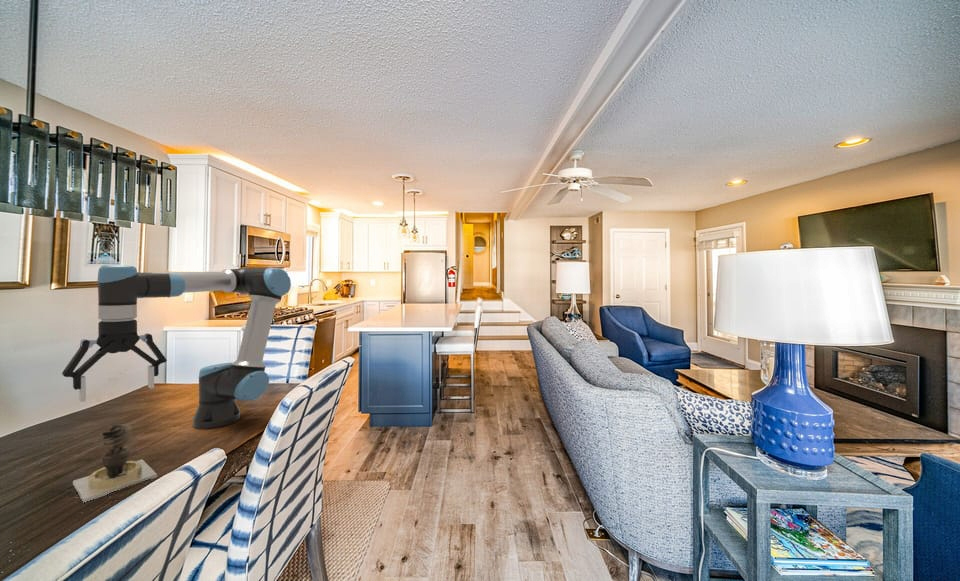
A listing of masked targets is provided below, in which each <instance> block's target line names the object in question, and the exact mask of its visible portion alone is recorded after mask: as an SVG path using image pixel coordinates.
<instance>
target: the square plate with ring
mask: <svg viewBox="0 0 960 581" xmlns="http://www.w3.org/2000/svg"><path fill="white" fill-rule="evenodd" d="M108 475H109V471H108V469H107V468H106V467H104V466H103V467H102V468H99V469H97V470H95V471H93V472H92V473H91V474H90V475H88V476H87V475H86V476H84V477H80V478H77V479H74V480H72V485H73V487H74V489H75V491H76V492H78V493H77V494H78V496H79V497H80V500H81V499H82V500H81V501H83V502H82V503H83V504H85V503H88V502H90V500H91V501H93V499H94V500H96V499H100V498H102V497H106V496H108V495H110V494H109V493H111V492H114V491H117V490H119V491H121V490H120V489H122V488H125V487H128V486H130V485H133V484H136V483H139V482H141V481H145V480H148V479H151V478H152V479H151V480H154V479H157V478H158V473H156V471H155V470H154V469H153V468H152V467H151V466H149V464H148V463H146V462H145V460H143V459H139V460H128V461H127V462H126V463H125V465H124V467H123V473H121V474H119V475H118V476H115V477H109V476H108ZM148 481H149V480H148ZM145 482H146V481H145ZM128 488H129V487H128ZM125 489H126V488H125ZM122 490H123V489H122ZM117 492H118V491H117ZM114 493H115V492H114ZM107 494H108V495H107ZM111 494H112V493H111ZM87 501H88V502H87ZM84 502H85V503H84Z"/></svg>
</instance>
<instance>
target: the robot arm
mask: <svg viewBox="0 0 960 581" xmlns="http://www.w3.org/2000/svg"><path fill="white" fill-rule="evenodd" d="M96 282H97V293H98V294H97V296H98V297H97V298H98V299H97V302H98V303H97V305H98V309H97V310H98V311H97V312H98V313H97V314H98V315H97V317H98V320H99V322H98V327H97V328H98V330H97V331H98V332H97V335H98V337H97V338H96V339H87V338H83V339H80V344H79V348H78V349H77V351H76V352H75V354H74V355H73V356H72V358H71V359H70V361H69V362H68V363H67V365H66V367H65V368H64V370H63V371H62V373H61V375H62V376H63V377H65V378H72V388H73V389H74V390H75V391H76V390H78V394H79V395H78V396H79V397H78V398H79V399H78V400H79V401H80V402H81V403H83V402H86V400H87V393H86V392H87V386H86V384H87V383H86V379H87V378H86V376H85V375H84V374H85V373H86V372H87V371H89V369H91V368H92V367H93V365H95V364H96V363H97V362H98V361H99V360H101V358H102V357H103V356H104V357H105V356H106V355H107V354H111V355H112V354H117V353H128V351H132V352H134V353H135V354H136V355H138V356H139V357H141V358H142V359H144V360H145V361H146V362H148V363H149V365H147V387H148V388H149V389H154V388H155V377H158V376H159V373H160V372H159V367H160V365H161V364H163V363H164V364H165V363H167V361H168V360H167V358H166V357H165V355H164V354H163V352H162V351H161V350H160V348H159V347H158V346H157V344H156V343H155V342H154V339H153V335H152V334H151V333H144V334H141V335H138V320H136V318H137V317H138V306H137V304H138V299H147V298H149V299H151V298H153V299H155V298H175V297H180V296H182V294H185V293H187V294H188V293H199V292H200V293H201V292H202V293H204V292H216V291H217V292H218V291H219V292H220V291H223V292H224V293H228V294H229V293H240V294H248V297H249V299H250V300H251V302H250V307H249V312H248V316H247V319H246V322H245V327H244V332H243V334H242V337H241V338H242V339H241V342H240V343H241V344H240V347H239V350H238V355H237V359H236V360H235V361H234V362H224V363H223V362H222V363H216V364H212V365H208V366H207V365H206V366H204V367H202V368H200V370H199V374H198V407H197V409H196V412H195V414H194V417H193V419H192V427H194V428H196V429H214V427H215V428H220V427H224V426H226V425H227V426H228V425H230V424H233V423H235V422H237V421H238V420H240V418H241V411H240V408H239V406H238V404H237V401H240V402H242V401H243V402H251V401H252V402H253V401H255V400H257V399H258V398H260V396H262V395H264V393H265V392H266V390H267V389H268V387H269V383H270V377H269V375H268V373H267V372H266V365H265V363H264V362H263V360H264V356H265V351H266V348H267V342H268V339H269V335H270V330H271V327H272V322H273V317H274V314H275V309H276V306H277V304H279V303H281V302H282V298H283V296H285V295H287V294H288V293H289V291H291V290H290V289H291V286H292V283H291V278H290V276H289V275H288V273H287V272H286V271H285V270H284V269H282V268H280V267H273V266H269V267H262V266H261V267H258V266H251V267H250V266H249V267H248V266H247V267H240V268H233V269H232V268H230V269H227V268H226V269H222V270H221V271H181V272H180V271H177V272H176V271H175V272H174V271H171V272H170V271H167V272H166V271H164V272H163V271H162V272H161V271H160V272H159V271H158V272H154V271H153V272H152V271H151V272H138V270H137V267H135V266H132V265H110V264H109V265H101V266H100V267H99V268H98V272H97V280H96ZM140 340H141V341H142V342H144V343H145V344H146V345H147V346H148V348H149V350H151V352H152V354H153V355H154V356H155V357H156V358H157V359H155V358H153V357H152V356H150V355H149V354H148V353H146V352H145V351H143V350H142V349H141V348H140V347H138V346H137V345H136V344H137V343H138V342H139V341H140ZM94 345H97V346H98V347H100V348H99V349H97V350H96V351H95V352H94V354H92V355H91V357H89V358H88V359H86V361H84V362H83V363H82V364H81V365H80V366H79V367H78V365H79V364H80V362H81V361H82V359H83V358H84V357H85V355H86V354H87V352H88V350H89V349H90V348H92V347H93V346H94ZM77 367H78V368H77ZM76 368H77V369H76ZM236 400H237V401H236Z"/></svg>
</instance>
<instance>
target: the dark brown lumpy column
mask: <svg viewBox="0 0 960 581" xmlns="http://www.w3.org/2000/svg"><path fill="white" fill-rule="evenodd" d="M108 428H109V430H106V431H103V432H102V436H103V438H102V441H104V442H103V446H104V447H107V448H108V452H105V453H104V454H103V455H102V466H103V467H106V468H107V469H108V471H109V475H108V476H109V477H115V476H118V475H119V474H121V473H123V467H124V465H125V463H126V462H127V461H129V459H130V449H129V448H125V447H124V446H125V445H126V444H127V443H129V441H130V439H131V434H132V432H131V431H132V428H131V426H130V425H128V424H112V425H109V427H108Z"/></svg>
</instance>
